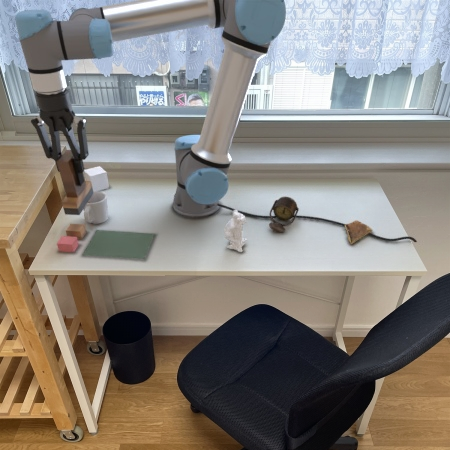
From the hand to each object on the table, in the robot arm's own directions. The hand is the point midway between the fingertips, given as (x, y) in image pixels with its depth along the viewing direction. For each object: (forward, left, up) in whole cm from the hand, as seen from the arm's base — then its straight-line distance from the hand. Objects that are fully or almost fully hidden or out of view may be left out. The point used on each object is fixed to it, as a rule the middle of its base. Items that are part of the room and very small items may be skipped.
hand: (74, 183), depth 118 cm
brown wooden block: (0, 0, -6) cm, 6 cm away
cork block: (+5, -3, -19) cm, 20 cm away
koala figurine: (-44, -3, -19) cm, 48 cm away
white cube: (+8, -35, -19) cm, 41 cm away
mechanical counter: (-56, -18, -19) cm, 62 cm away
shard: (-81, -13, -19) cm, 84 cm away
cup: (+1, -11, -19) cm, 22 cm away
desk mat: (-10, 0, -19) cm, 21 cm away
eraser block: (+5, +4, -19) cm, 20 cm away
